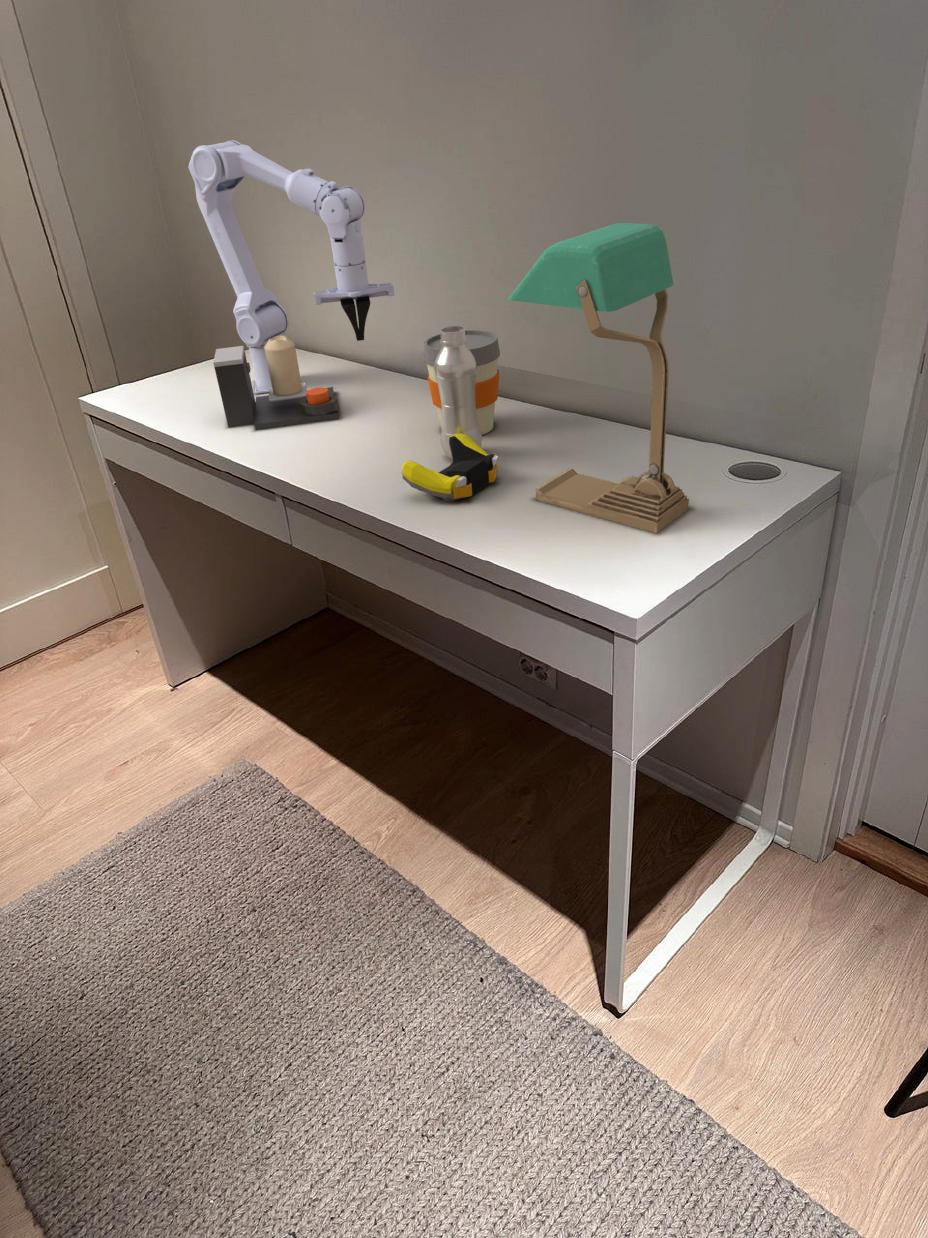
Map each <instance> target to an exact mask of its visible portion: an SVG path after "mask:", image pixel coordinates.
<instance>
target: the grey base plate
mask: <svg viewBox="0 0 928 1238" xmlns="http://www.w3.org/2000/svg"><path fill="white" fill-rule="evenodd" d="M326 388H327V389H328V392H329V398H330V400H329V401H328V402H325V403H321V404H309V403H308V400H307V397H303V398H295V399H288V400H280V401H272V402H269V394H268V395H260V396H255V402H256V404H255V420H254V424H253V425H254V426H253V427H254V431H262V430H268V429H269V430H271V429H277V428H278V429H279V428H284V427H285V428H286V427H291V426H299V425H300V426H301V425H306V424H307V425H308V424H315V423H321V422H322V423H323V422H329V421H337V420H339V414H338V410H339V409H340V405H339V399H338V396H337V395H336V394H335V391H334V387H333V386H328V387H326ZM308 390H309V389H307V391H308Z"/></svg>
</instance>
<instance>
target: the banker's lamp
mask: <svg viewBox="0 0 928 1238" xmlns="http://www.w3.org/2000/svg"><path fill="white" fill-rule="evenodd" d="M673 286H674V279H673V273H672V267H671V261H670V256H669V249H668V244H667V238H666V236H665V234H664V231H663V230H662V229H661V228H660V227H659V226H658V225H654V224H652V223H651V224H650V223H633V222H632V223H631V222H620V223H613V224H610V225H608V226H603V227H601V228H597V229H595V230H592V231H588V232H585V233H583V234H579V235H576V236H573V237H570V238H567V239H564V240H561V241H558V242H556V243H553V244H552V245H550V246H548V247H547V248H546V249H545V250H544V251H542V253H541V255H540V256H539V258H538V259H537V260H536V261H535V263H534V264H533V265H532V267H531V268H530V269H529V271H528V272H527V273H526V275H524V277H523V278H522V280H520V283H519V284H518V285H517V286H516V287H515V289H514V290H513V291H512V293H511V294H510V295H509V297H508V298H507V300H508V301H511V302H518V303H519V302H520V303H527V304H535V305H543V306H551V307H552V306H553V307H561V308H570V309H578V310H583V313H584V317H585V320H586V323H587V327H588V330H589V332H590V334H592V335H593V336H595V337H597V338H600V339H607V340H615V341H623V342H630V343H638V344H641V345H643V346H644V347H645V348H646V349H647V352H648V355H649V358H650V362H651V368H652V383H651V386H652V387H651V388H652V389H651V408H650V410H651V411H650V432H649V455H648V456H649V457H648V471H646V472H645V471H644V472H643V473H641V474H639V476H636V475H631V476H627V477H625V478H624V479H622V480H621V481H620V482H618V483H617V482H614V481H609V480H605V479H601V478H597V477H594V476H589V475H587V474H586V475H585V474H581V473H578V472H577V471H576V470H575V469H574V468H573V467H568V468H567V469H565V470H564V471H562V472H561V473H559V474H557V475H556V476H554V477H552V478H550V479H548V480H547V481H546V482H544V483H542V484H541V485H538V486H537V487H536V488H535V500H536V501H539V502H542V503H546V504H549V505H553V506H557V507H560V508H564V509H567V510H571V511H575V512H578V513H582V514H586V515H589V516H592V517H596V518H600V519H604V520H607V521H610V522H613V523H618V524H622V525H625V526H629V527H633V528H634V529H635V528H636V529H638V530H639V529H640V530H642V531H646V532H650V533H654V534H658V533H659V532H660V531H661V530H663V529H664V528H665V527H667V526H668V525H669V524H671V523H672V522H674V520H676V519H678V518H679V517H680V516H681V515H683V514H684V513H685V512H686V511H687V510H689V506H690V505H689V504H690V503H689V502H690V498H688V495H686V494H685V492H684V491H683V488H681V487H680V486H676V485H675V482H674V480H673V478H672V477H671V476H670V475H669V474H667V472H665V452H666V435H667V414H668V397H669V395H668V393H669V376H670V374H669V370H670V369H669V359H668V355H667V351H666V347H665V345H664V343H663V332H664V326H665V321H666V318H667V317H666V316H667V312H668V307H669V294H668V291H667V289H669V288H671V287H673ZM653 295H654V296H655V299H656V311H655V313H654V317H653V321H652V325H651V329H650V332H649V335H648V336H649V337H644V336H639V335H635V334H630V333H626V332H622V331H618V330H613V329H608V328H607V327H604V326H603V325H602V323H601V320H600V317H599V314H598V312H605V313H609V312H611V313H612V312H616V311H619V310H621V309H624V308H625V307H628V306H631V305H633V304H635V303H637V302H640V301H642V300H643V299H644V300H645V299H646V298H648V297H651V296H653ZM644 476H647V477H646V478H643V477H644Z"/></svg>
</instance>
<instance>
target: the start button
mask: <svg viewBox="0 0 928 1238" xmlns="http://www.w3.org/2000/svg"><path fill="white" fill-rule="evenodd" d="M327 388H328V387H323V386H322V387H321V386H318V387H312V388H309V389H307V390H308V391H307V392H306V395H307V400H308V403H309V404H321V403H325V402H328V401H329V400H330V398H329V392H328V389H327Z"/></svg>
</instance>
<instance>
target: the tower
mask: <svg viewBox="0 0 928 1238" xmlns="http://www.w3.org/2000/svg"><path fill="white" fill-rule="evenodd" d="M213 357H214V358H213V362H212V363H213V367H214V368H213V369H214V372H215V377H216V380H217V385H218V389H219V394H220V397H221V403H222V406H223V411H224V415H225V420H226V424H227V428H236V427H242V426H250V425H252V426H253V425H254V420H255V404H256V397H255V392H254V389H253V384H252V379H251V375H250V373H251V369H252V368H251V364H250V363H251V362H248V361H247V355H246V350H245V346H244V345H237V346H230V347H223V348H222V347H221V348H216V349H215V353H214V356H213ZM301 383H302V391H300V392H298V393H296V394H292V395H286V396H280V395H275V394H274V393H273V389H272V387H269V392H268V395H269V402H272V401H280V400H288V399H295V398H303V397H307V395H306V392H307V390H308V389H307V382H301Z"/></svg>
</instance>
